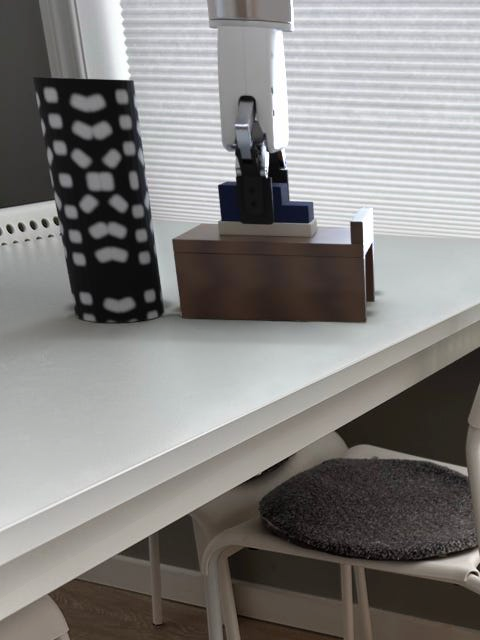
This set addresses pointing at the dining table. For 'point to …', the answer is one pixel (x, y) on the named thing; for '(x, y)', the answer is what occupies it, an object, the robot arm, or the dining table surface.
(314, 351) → the dining table surface
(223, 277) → the wooden storage chest
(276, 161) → the robot arm
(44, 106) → the spotted tube
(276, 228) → the trainer
